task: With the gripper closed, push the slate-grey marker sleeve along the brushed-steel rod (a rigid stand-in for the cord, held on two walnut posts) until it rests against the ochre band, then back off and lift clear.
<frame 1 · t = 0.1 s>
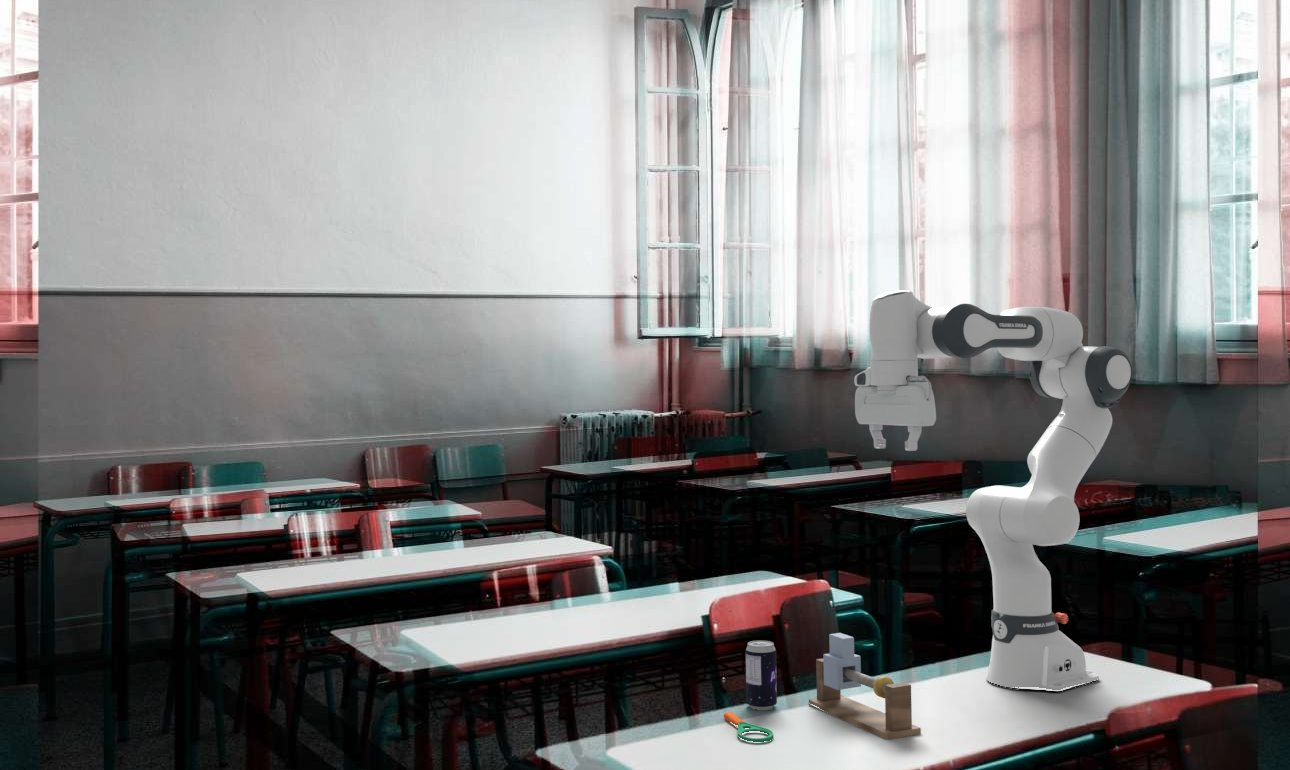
hand: (895, 449, 215), 48 cm above the table, fingers open, 8 cm apart
marker sleeve: (841, 660, 211), point 9 cm above the table, slide at 0.0 cm
beverage can: (761, 708, 214), on the table
cord rail: (862, 718, 206), on the table
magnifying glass: (745, 734, 200), on the table
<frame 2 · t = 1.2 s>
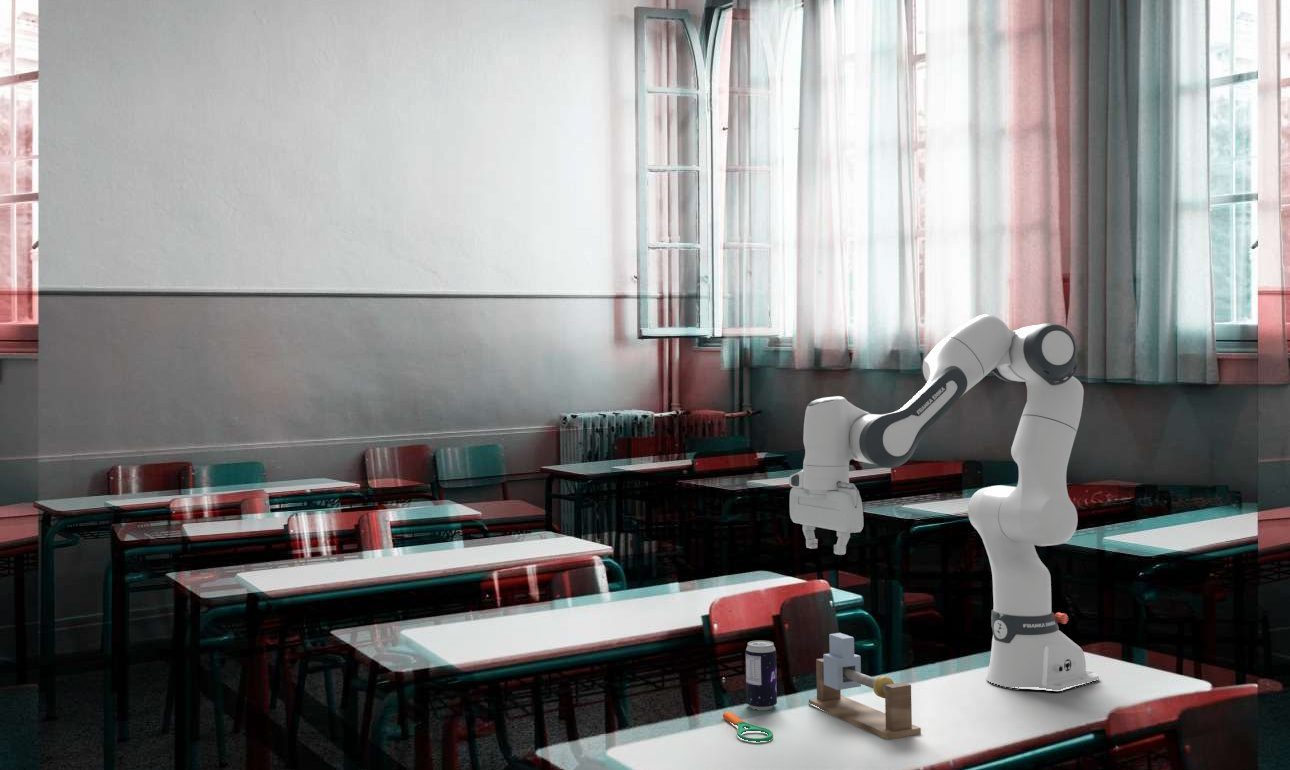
hand: (825, 551, 221), 28 cm above the table, fingers open, 8 cm apart
nothing on the table moved.
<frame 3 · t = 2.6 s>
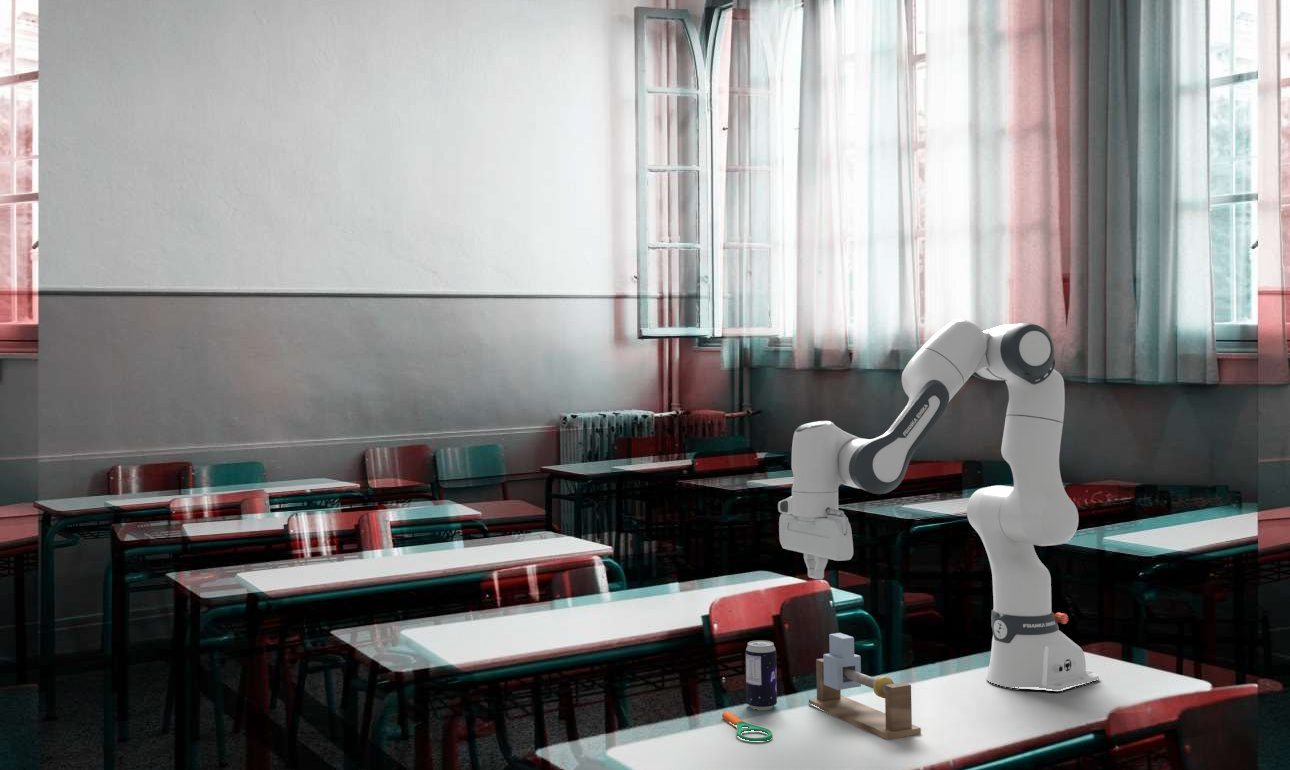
hand: (815, 578, 218), 23 cm above the table, fingers closed
nothing on the table moved.
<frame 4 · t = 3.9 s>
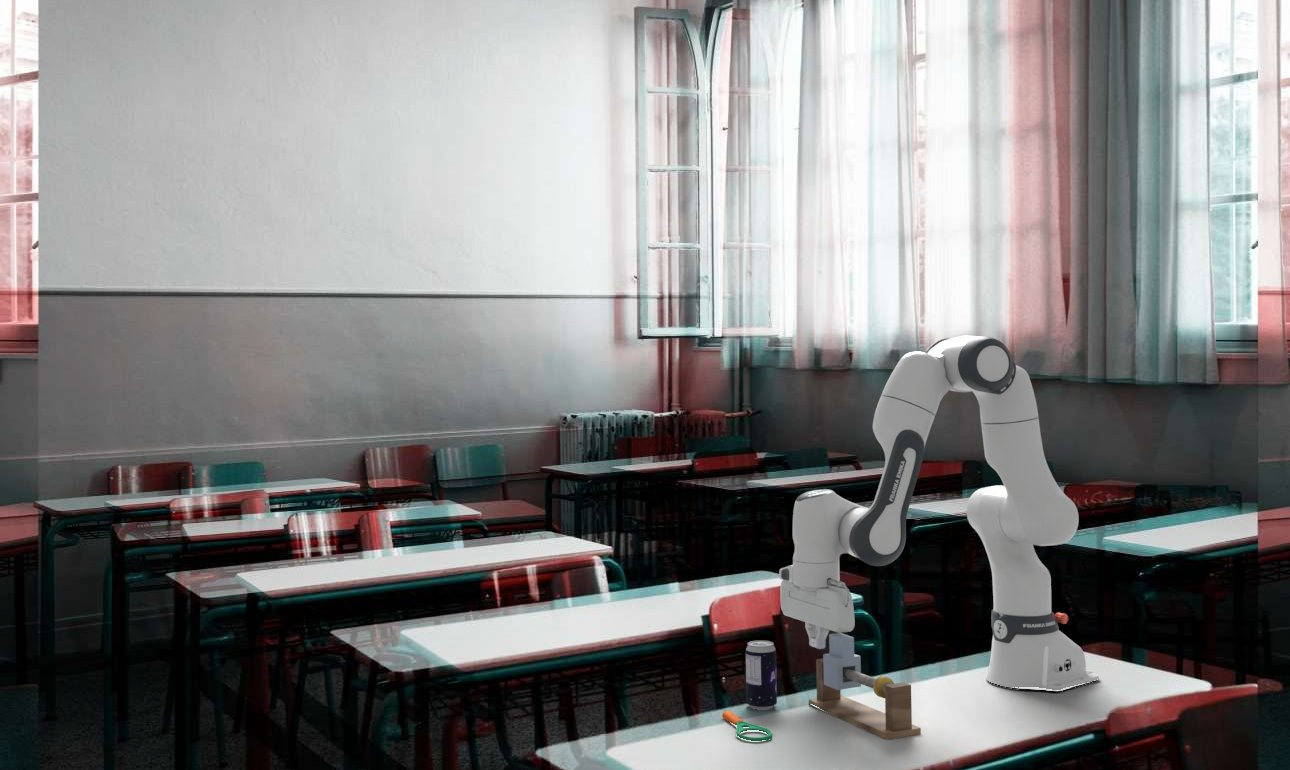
hand: (817, 647, 218), 10 cm above the table, fingers closed
nothing on the table moved.
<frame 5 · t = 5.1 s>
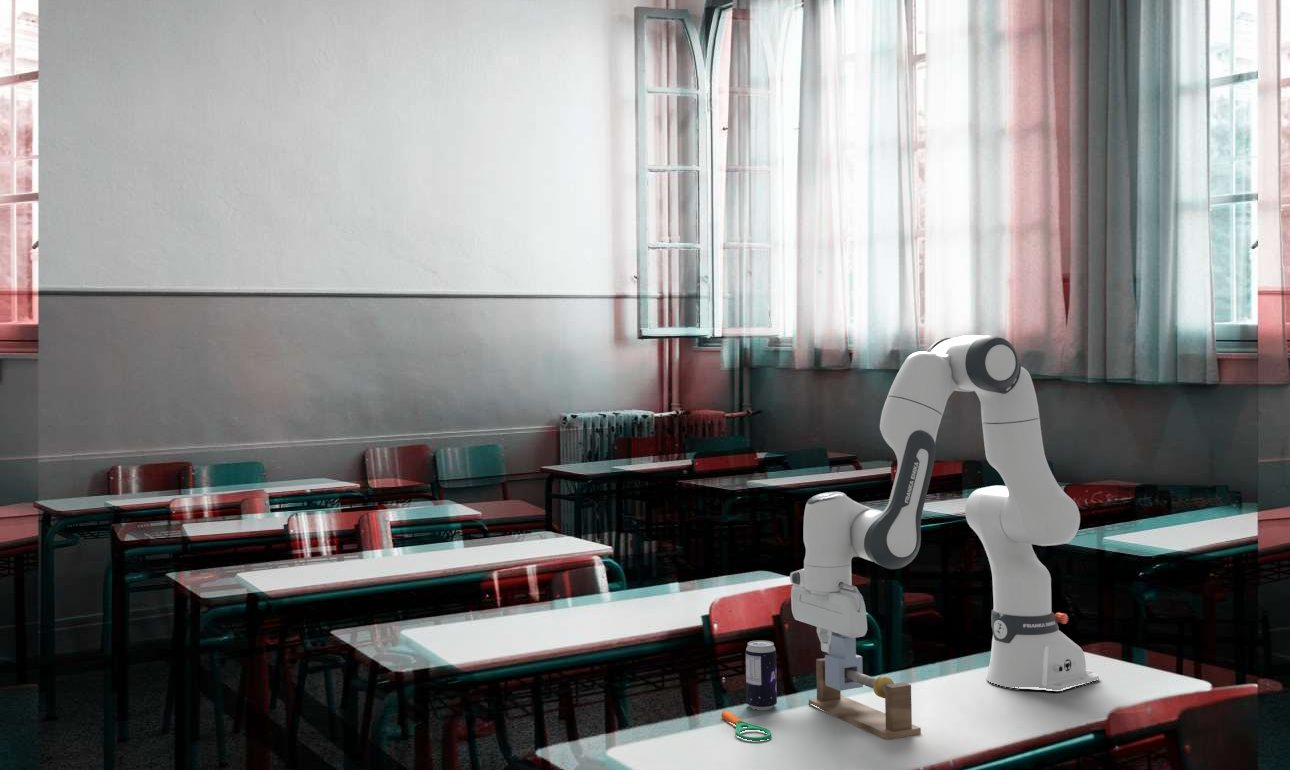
hand: (829, 652, 215), 10 cm above the table, fingers closed
marker sleeve: (843, 661, 210), point 9 cm above the table, slide at 0.6 cm, touching gripper
everything else where it was.
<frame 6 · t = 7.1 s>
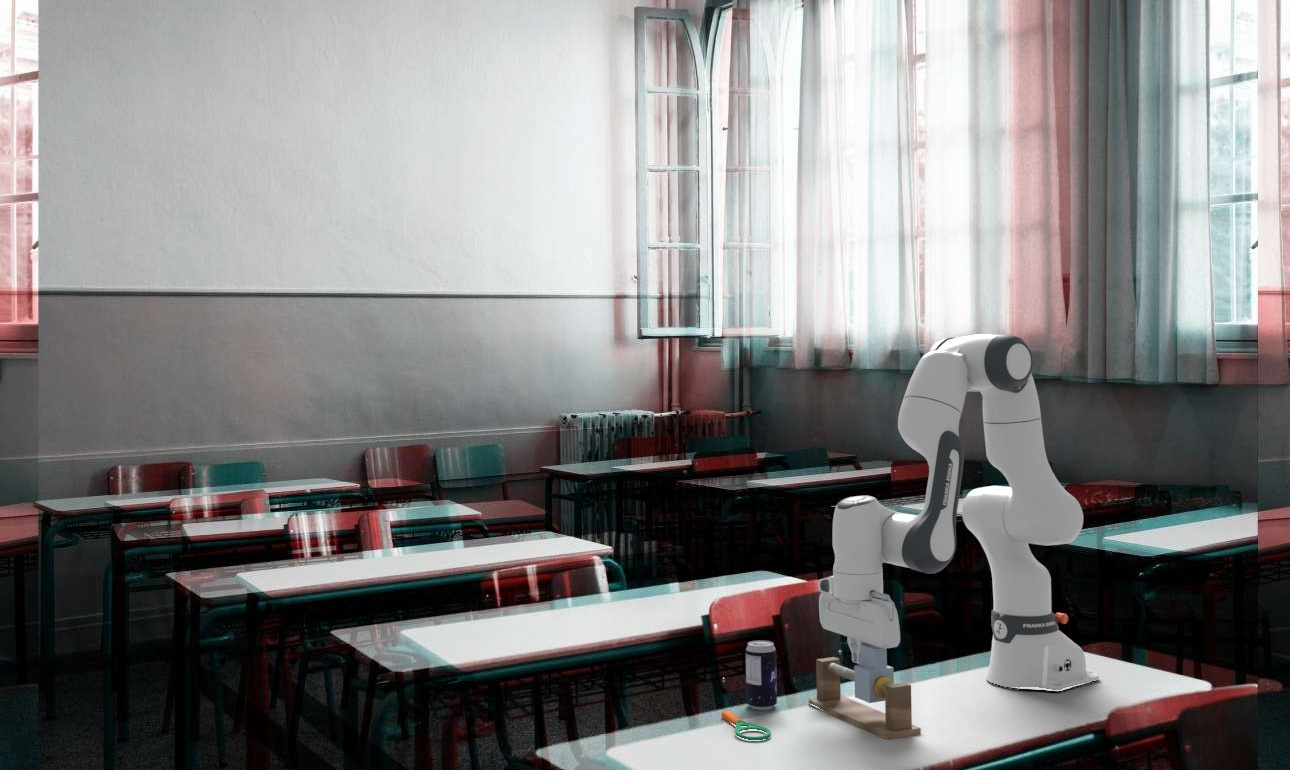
hand: (859, 663, 206), 10 cm above the table, fingers closed
marker sleeve: (873, 672, 202), point 9 cm above the table, slide at 9.7 cm, touching cord rail, gripper
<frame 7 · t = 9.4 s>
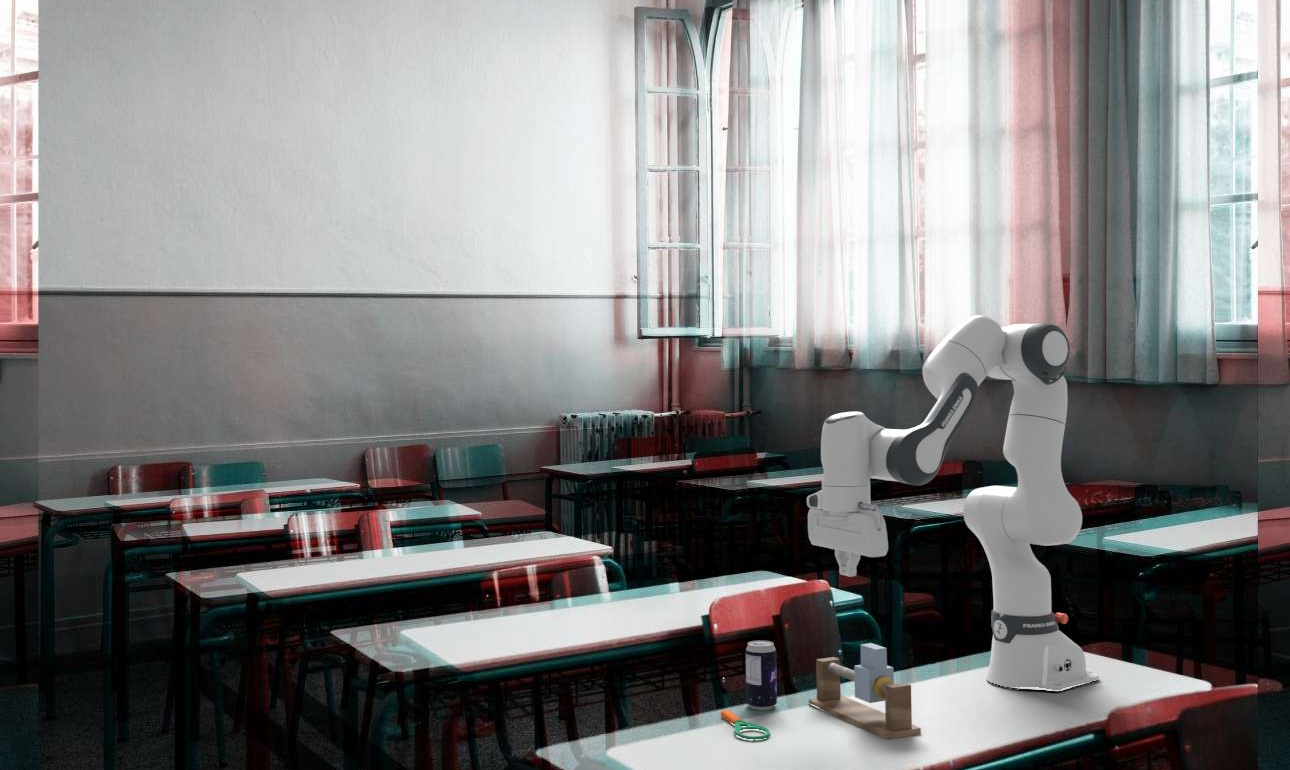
hand: (848, 575, 210), 25 cm above the table, fingers closed
marker sleeve: (873, 672, 202), point 9 cm above the table, slide at 9.7 cm, touching cord rail
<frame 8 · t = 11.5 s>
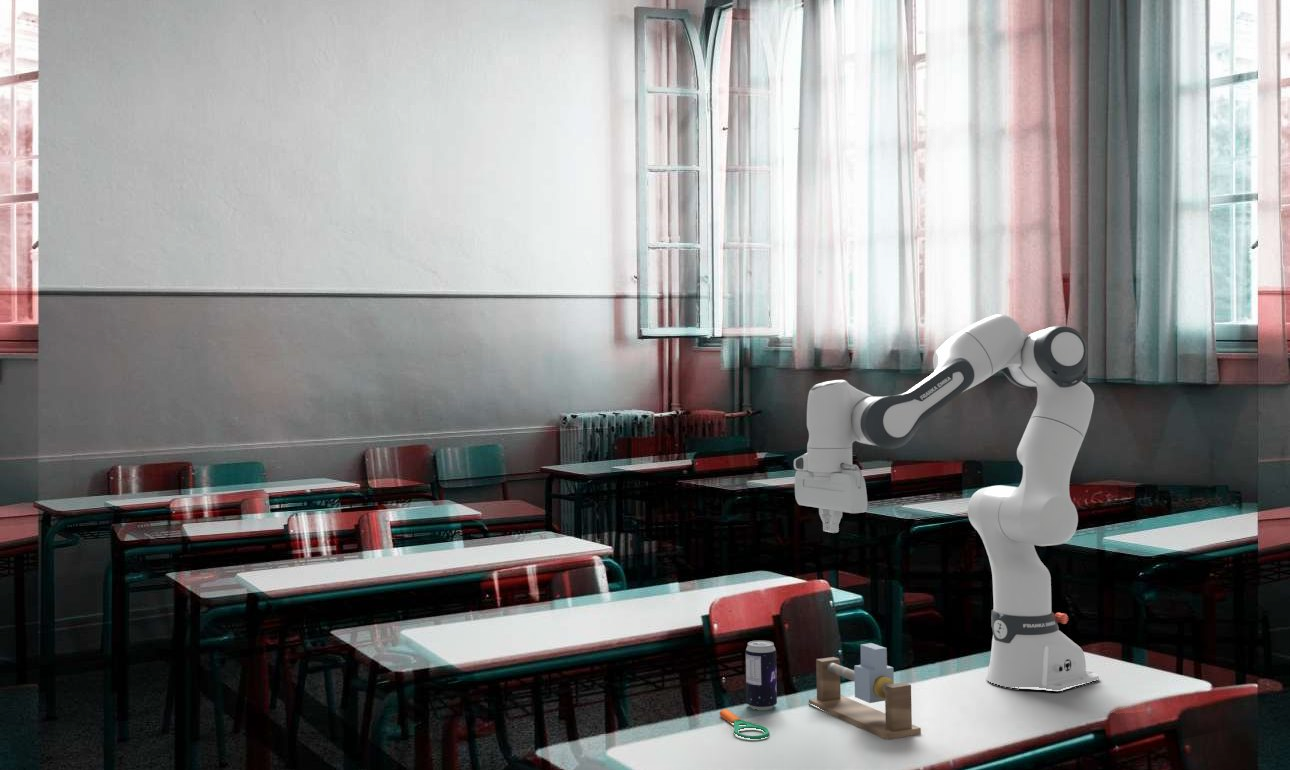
hand: (830, 532, 226), 31 cm above the table, fingers closed
at the end: marker sleeve slide at 9.7 cm; marker sleeve touching cord rail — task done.
